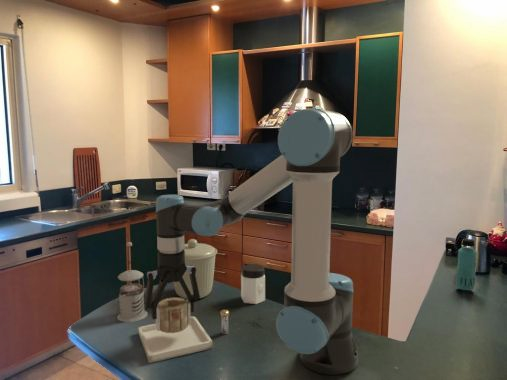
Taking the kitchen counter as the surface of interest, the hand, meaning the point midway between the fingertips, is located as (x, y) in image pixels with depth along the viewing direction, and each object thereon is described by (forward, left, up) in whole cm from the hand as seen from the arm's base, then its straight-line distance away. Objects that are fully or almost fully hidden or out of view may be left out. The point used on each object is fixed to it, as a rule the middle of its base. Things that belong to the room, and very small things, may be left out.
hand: (173, 325), depth 117 cm
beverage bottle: (-10, -109, -5) cm, 110 cm away
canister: (+31, -15, -5) cm, 35 cm away
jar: (+17, -33, -5) cm, 37 cm away
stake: (-2, -15, -5) cm, 16 cm away
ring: (0, 0, 0) cm, 0 cm away
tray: (0, 0, -5) cm, 5 cm away
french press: (+23, +8, -5) cm, 25 cm away
